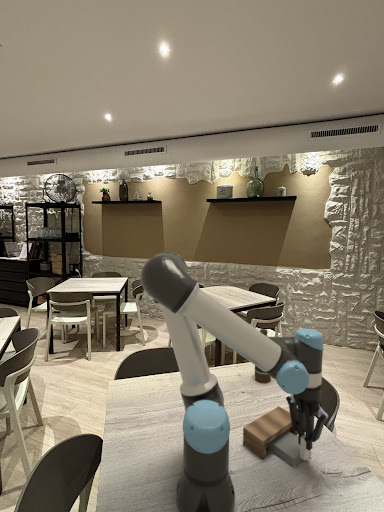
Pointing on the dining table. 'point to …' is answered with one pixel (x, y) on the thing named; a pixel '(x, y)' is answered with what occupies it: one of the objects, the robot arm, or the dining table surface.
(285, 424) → the walnut arch bridge
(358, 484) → the dining table surface
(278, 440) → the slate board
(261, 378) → the beer bottle
